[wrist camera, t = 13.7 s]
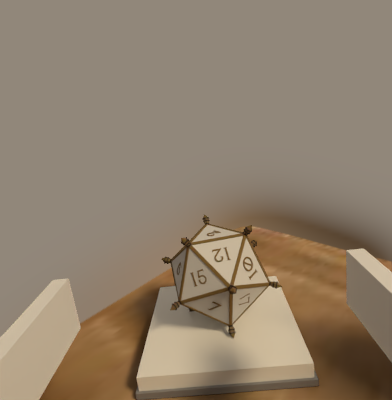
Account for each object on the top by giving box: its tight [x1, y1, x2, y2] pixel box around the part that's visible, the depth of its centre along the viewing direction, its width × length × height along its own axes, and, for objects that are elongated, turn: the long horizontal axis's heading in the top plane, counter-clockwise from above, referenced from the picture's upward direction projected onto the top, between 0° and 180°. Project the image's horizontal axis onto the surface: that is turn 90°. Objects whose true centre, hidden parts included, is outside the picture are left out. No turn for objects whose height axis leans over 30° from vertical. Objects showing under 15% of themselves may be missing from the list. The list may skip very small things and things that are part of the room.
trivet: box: [136, 276, 319, 400], centre depth 27 cm, size 12×12×2 cm
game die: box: [162, 215, 282, 338], centre depth 26 cm, size 9×8×10 cm
